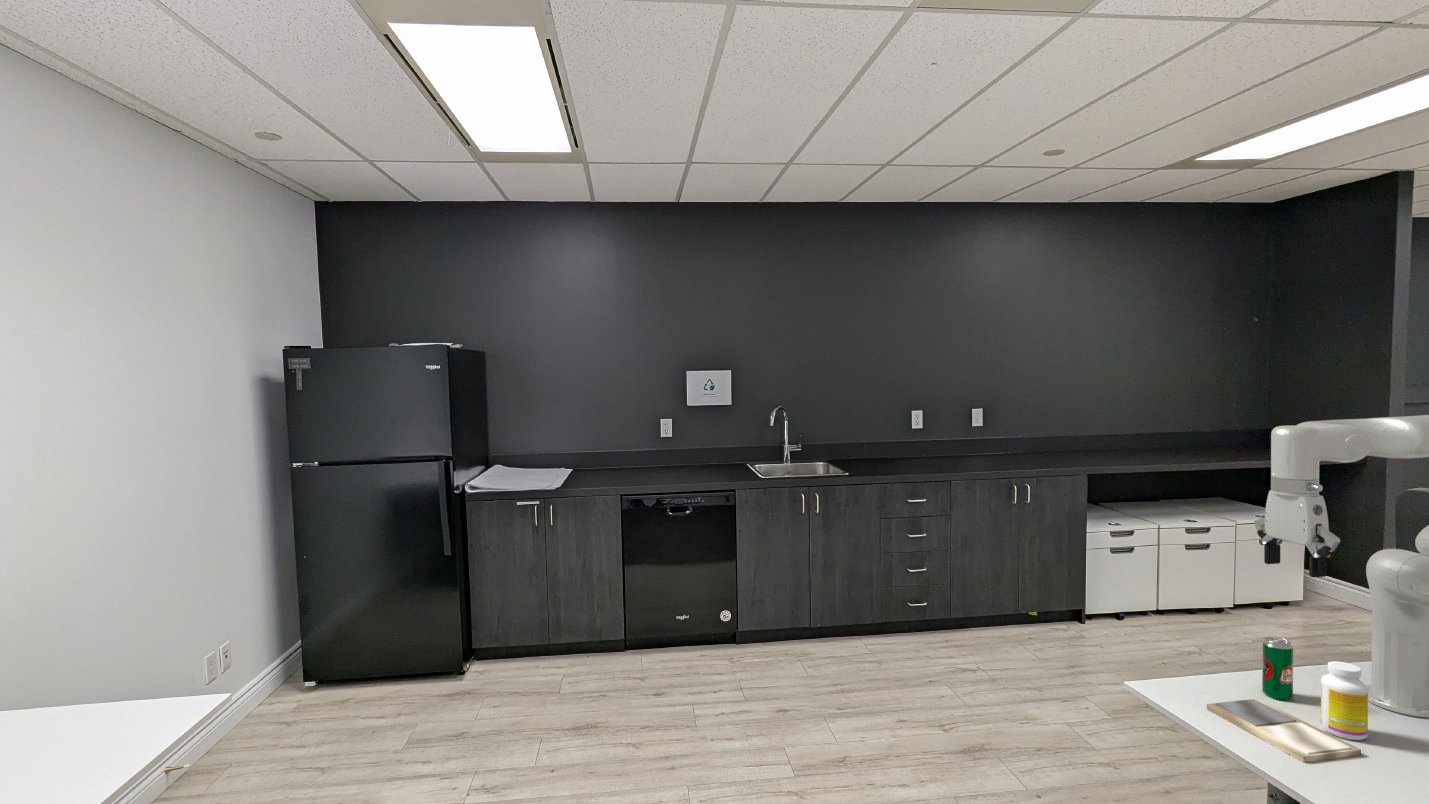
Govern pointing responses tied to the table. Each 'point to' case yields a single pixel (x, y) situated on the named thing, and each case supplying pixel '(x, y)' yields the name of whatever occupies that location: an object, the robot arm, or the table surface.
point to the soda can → (1277, 668)
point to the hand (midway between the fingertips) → (1294, 569)
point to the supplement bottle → (1344, 702)
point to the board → (1283, 730)
